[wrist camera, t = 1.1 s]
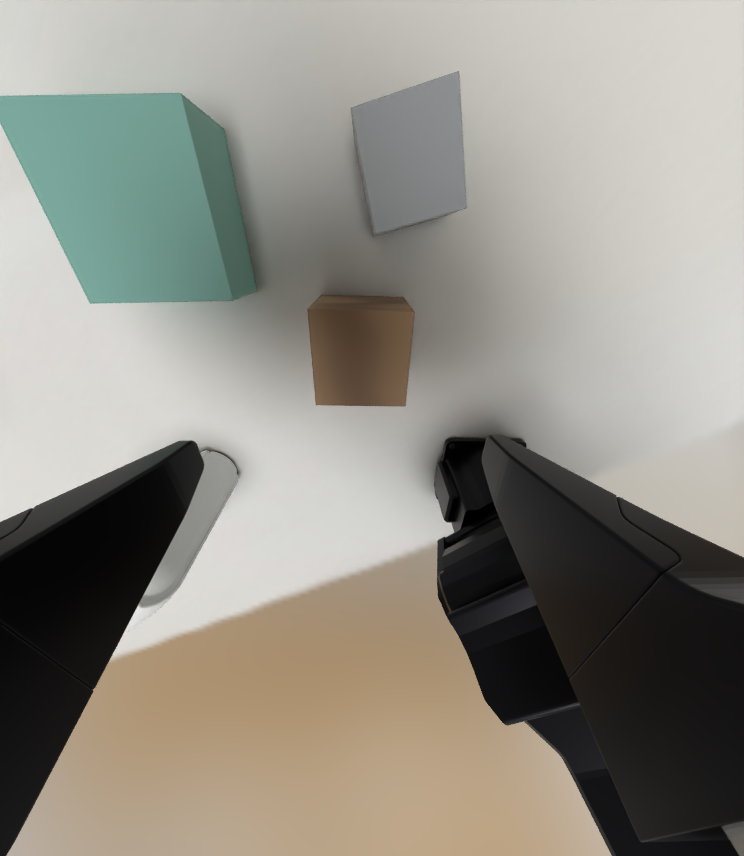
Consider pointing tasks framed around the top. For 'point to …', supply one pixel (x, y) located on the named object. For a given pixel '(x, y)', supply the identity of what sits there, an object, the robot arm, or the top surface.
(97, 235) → the teal base block
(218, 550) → the top surface
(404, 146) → the slate block
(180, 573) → the photo printer
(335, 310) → the walnut cube
